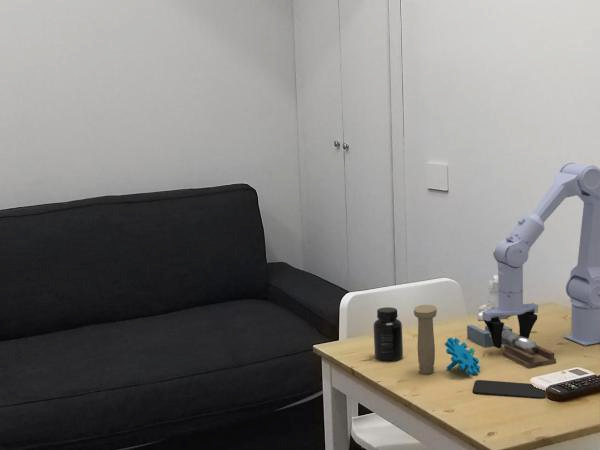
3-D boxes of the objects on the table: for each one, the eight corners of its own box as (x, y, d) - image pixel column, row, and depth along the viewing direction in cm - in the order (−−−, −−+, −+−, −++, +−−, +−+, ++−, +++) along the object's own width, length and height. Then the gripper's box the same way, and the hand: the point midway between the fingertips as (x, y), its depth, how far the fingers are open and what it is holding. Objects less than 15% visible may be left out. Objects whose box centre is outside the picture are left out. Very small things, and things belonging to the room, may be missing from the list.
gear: (469, 375, 177) (442, 338, 181) (451, 390, 180) (424, 354, 184) (490, 367, 186) (464, 332, 190) (473, 381, 189) (447, 346, 192)
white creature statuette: (479, 311, 231) (478, 270, 229) (510, 312, 228) (510, 270, 226) (477, 321, 222) (476, 278, 220) (509, 322, 219) (509, 279, 217)
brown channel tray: (529, 350, 196) (529, 340, 195) (555, 362, 187) (555, 352, 186) (502, 355, 193) (502, 345, 193) (528, 368, 184) (528, 357, 184)
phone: (546, 397, 166) (471, 391, 171) (545, 401, 166) (471, 395, 171) (546, 384, 173) (475, 379, 178) (546, 388, 173) (475, 382, 178)
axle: (498, 343, 198) (501, 329, 198) (510, 344, 199) (512, 330, 199) (523, 355, 189) (526, 340, 188) (536, 355, 190) (538, 341, 190)
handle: (413, 376, 183) (411, 312, 180) (418, 366, 189) (417, 304, 186) (434, 377, 181) (433, 313, 179) (439, 367, 187) (438, 305, 185)
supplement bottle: (408, 356, 196) (407, 308, 194) (391, 364, 191) (390, 315, 189) (385, 351, 201) (384, 304, 199) (368, 358, 196) (367, 310, 194)
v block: (493, 333, 210) (493, 320, 209) (512, 342, 202) (512, 328, 202) (467, 338, 207) (467, 325, 206) (485, 347, 200) (484, 333, 199)
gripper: (525, 282, 200) (525, 335, 202) (475, 290, 195) (475, 344, 197) (543, 289, 193) (543, 343, 196) (492, 297, 188) (492, 353, 191)
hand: (510, 344), depth 196 cm, fingers open, 7 cm apart
